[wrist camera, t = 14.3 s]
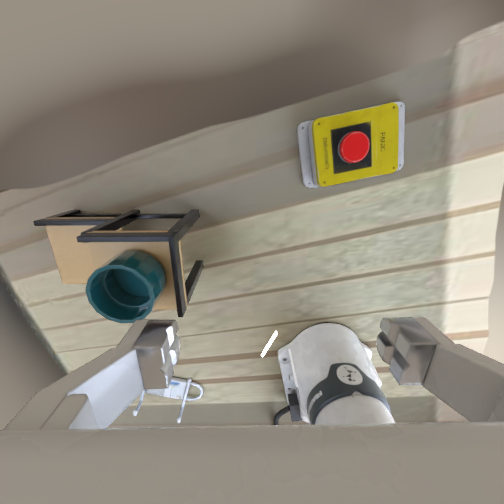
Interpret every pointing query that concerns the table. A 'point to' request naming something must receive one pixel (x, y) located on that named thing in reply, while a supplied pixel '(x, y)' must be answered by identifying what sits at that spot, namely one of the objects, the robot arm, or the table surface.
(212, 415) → the table surface
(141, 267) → the cup
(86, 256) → the rack
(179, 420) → the wall mount rack
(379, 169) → the emergency button
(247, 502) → the robot arm
